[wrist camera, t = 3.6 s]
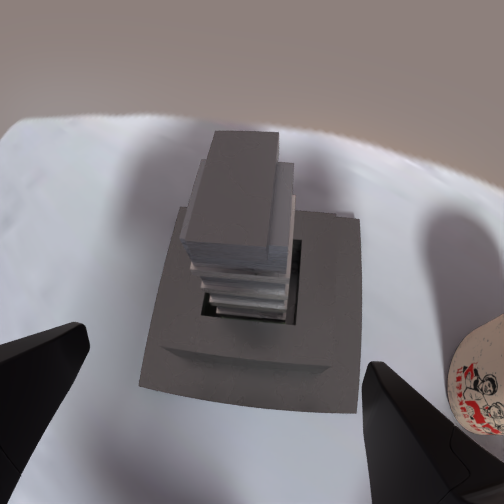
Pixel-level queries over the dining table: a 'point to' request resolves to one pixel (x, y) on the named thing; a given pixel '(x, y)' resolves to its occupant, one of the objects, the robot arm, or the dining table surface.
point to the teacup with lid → (479, 380)
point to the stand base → (266, 329)
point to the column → (242, 226)
